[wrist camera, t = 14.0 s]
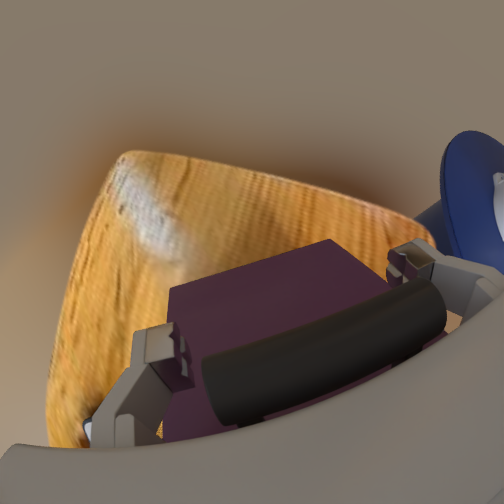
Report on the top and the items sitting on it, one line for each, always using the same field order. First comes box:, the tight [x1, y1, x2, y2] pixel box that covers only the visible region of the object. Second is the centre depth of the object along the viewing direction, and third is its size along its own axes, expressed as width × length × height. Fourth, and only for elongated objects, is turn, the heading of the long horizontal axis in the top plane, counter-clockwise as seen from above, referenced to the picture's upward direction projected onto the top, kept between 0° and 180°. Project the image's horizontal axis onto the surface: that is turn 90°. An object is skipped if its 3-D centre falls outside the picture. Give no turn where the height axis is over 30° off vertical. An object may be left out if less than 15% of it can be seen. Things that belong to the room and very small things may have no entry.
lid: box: [163, 239, 448, 443], centre depth 12 cm, size 16×13×6 cm
